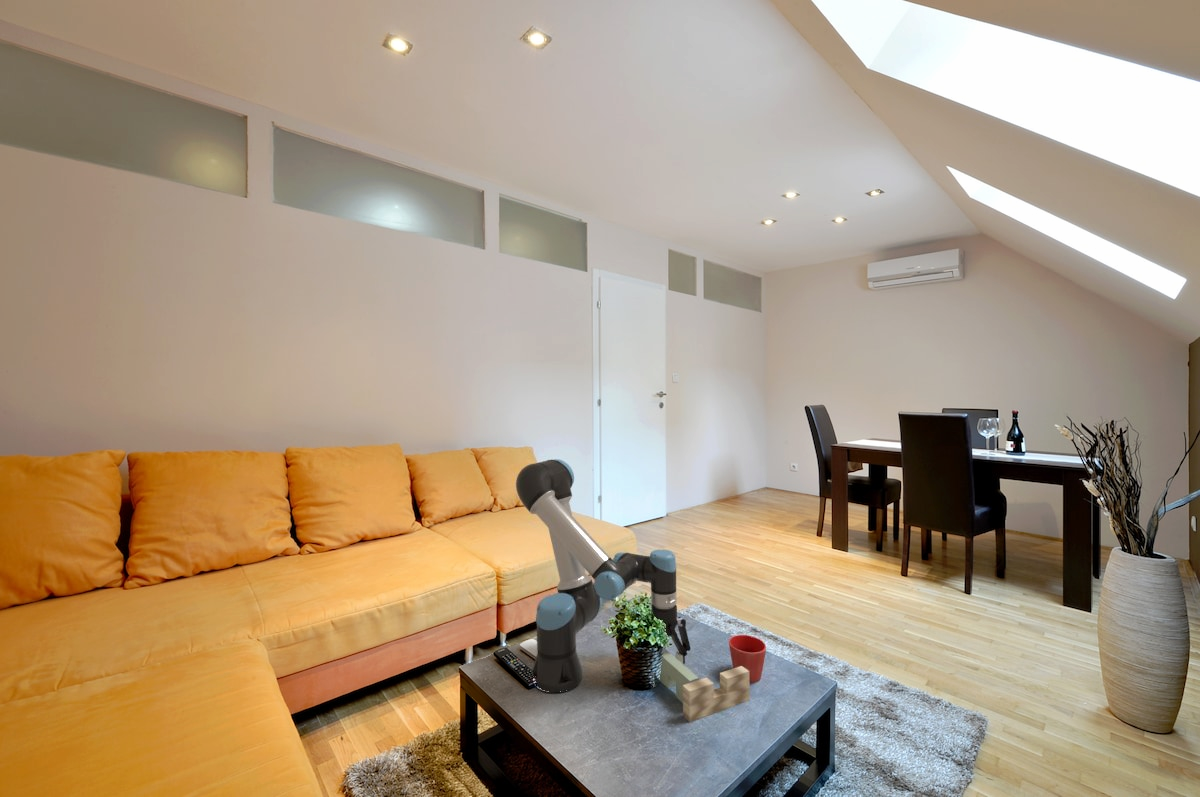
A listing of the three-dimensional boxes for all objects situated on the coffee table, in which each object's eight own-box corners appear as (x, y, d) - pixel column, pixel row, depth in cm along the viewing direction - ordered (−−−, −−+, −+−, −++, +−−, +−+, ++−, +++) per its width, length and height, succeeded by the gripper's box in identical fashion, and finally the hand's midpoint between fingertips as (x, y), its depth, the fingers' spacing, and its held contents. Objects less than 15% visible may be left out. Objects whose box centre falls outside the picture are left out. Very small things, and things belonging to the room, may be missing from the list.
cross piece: (699, 707, 130) (698, 677, 130) (690, 710, 129) (689, 680, 129) (663, 673, 147) (662, 646, 147) (654, 675, 145) (654, 649, 145)
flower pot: (761, 665, 150) (761, 634, 150) (770, 687, 139) (769, 653, 139) (726, 664, 151) (726, 633, 151) (732, 685, 140) (732, 652, 140)
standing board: (690, 722, 124) (689, 691, 124) (683, 715, 127) (682, 685, 127) (749, 700, 133) (749, 671, 133) (742, 694, 136) (741, 665, 136)
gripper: (638, 617, 135) (639, 697, 135) (702, 601, 144) (703, 676, 144) (625, 607, 141) (627, 683, 142) (687, 592, 151) (688, 664, 151)
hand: (665, 679), depth 143 cm, fingers open, 9 cm apart
